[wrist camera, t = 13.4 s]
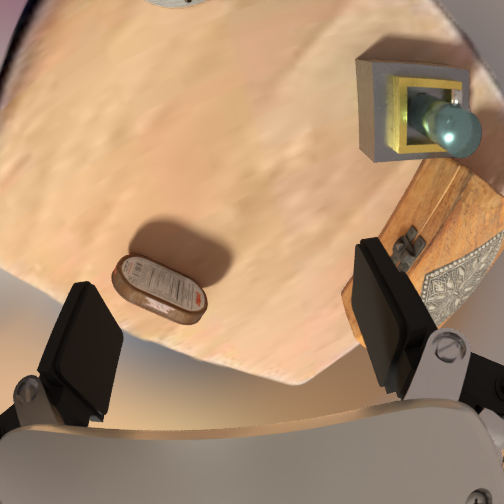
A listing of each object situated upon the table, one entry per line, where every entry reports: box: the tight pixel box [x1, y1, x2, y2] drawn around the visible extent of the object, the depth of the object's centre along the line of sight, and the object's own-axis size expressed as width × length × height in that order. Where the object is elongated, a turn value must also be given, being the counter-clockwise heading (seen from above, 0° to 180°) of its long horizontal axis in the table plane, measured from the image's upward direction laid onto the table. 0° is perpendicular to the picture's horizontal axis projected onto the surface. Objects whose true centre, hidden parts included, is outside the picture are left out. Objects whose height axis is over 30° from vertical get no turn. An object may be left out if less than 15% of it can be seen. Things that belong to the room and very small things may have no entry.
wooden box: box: [341, 158, 504, 349], centre depth 43 cm, size 30×16×14 cm, turn 158°
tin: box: [111, 254, 208, 325], centre depth 46 cm, size 15×3×8 cm, turn 55°
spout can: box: [408, 89, 482, 158], centre depth 27 cm, size 7×5×8 cm
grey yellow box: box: [355, 59, 471, 163], centre depth 32 cm, size 12×16×6 cm
